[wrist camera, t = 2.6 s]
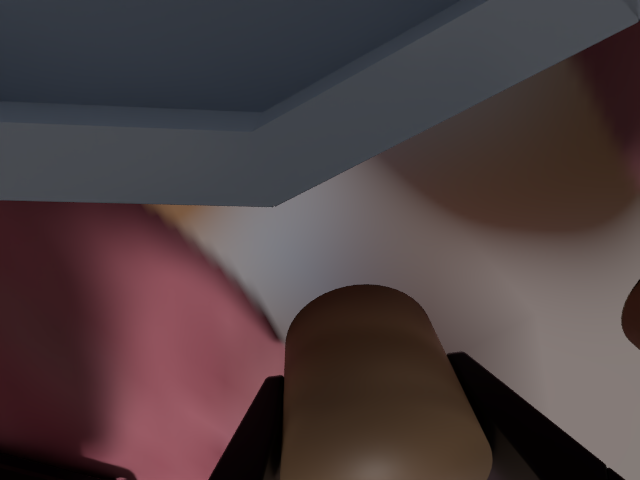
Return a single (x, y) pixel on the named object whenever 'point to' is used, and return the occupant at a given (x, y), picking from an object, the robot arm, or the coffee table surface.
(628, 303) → the bead
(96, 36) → the groove tray
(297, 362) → the bead
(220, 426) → the coffee table surface
